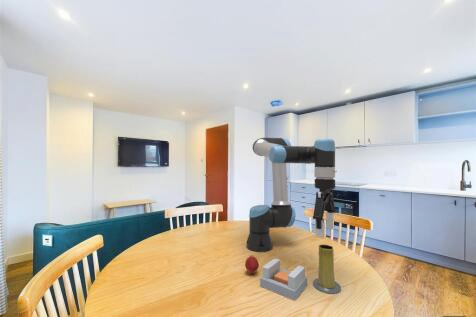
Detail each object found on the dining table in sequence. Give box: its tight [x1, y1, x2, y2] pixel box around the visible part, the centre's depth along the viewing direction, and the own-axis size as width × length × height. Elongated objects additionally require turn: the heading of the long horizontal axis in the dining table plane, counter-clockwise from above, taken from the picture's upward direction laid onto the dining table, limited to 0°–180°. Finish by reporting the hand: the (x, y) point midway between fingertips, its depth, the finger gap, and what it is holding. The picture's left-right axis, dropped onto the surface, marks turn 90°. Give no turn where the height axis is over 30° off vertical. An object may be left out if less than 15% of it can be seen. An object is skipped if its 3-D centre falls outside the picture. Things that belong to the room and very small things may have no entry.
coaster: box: [312, 277, 342, 295], centre depth 80 cm, size 10×10×1 cm
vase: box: [317, 244, 336, 289], centre depth 80 cm, size 6×6×14 cm
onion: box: [244, 254, 260, 275], centre depth 89 cm, size 6×6×8 cm
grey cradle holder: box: [259, 258, 308, 301], centre depth 80 cm, size 14×12×7 cm
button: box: [274, 270, 290, 285], centre depth 80 cm, size 6×6×4 cm
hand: (325, 232), depth 81 cm, fingers open, 13 cm apart
